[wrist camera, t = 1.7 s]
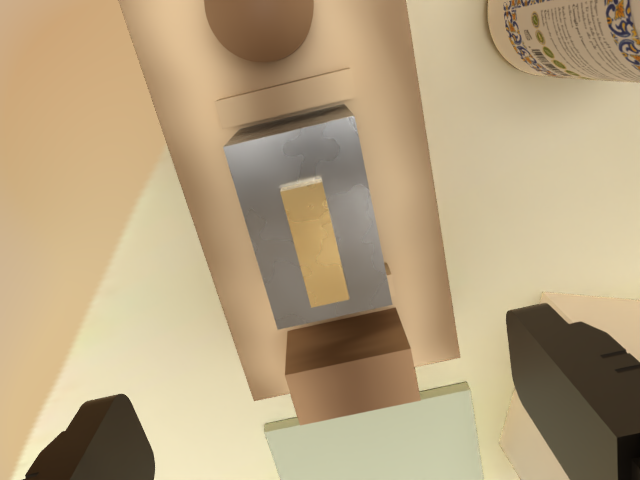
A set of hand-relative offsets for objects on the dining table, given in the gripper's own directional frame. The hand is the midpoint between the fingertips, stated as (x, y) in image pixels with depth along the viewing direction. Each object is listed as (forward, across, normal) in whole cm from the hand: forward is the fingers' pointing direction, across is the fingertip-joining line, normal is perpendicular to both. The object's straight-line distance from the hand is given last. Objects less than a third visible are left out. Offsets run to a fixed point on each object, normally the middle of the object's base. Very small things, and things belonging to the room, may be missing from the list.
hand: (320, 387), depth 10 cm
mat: (+19, 0, +22) cm, 29 cm away
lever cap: (+15, 0, 0) cm, 15 cm away
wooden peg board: (+19, 0, 0) cm, 19 cm away
